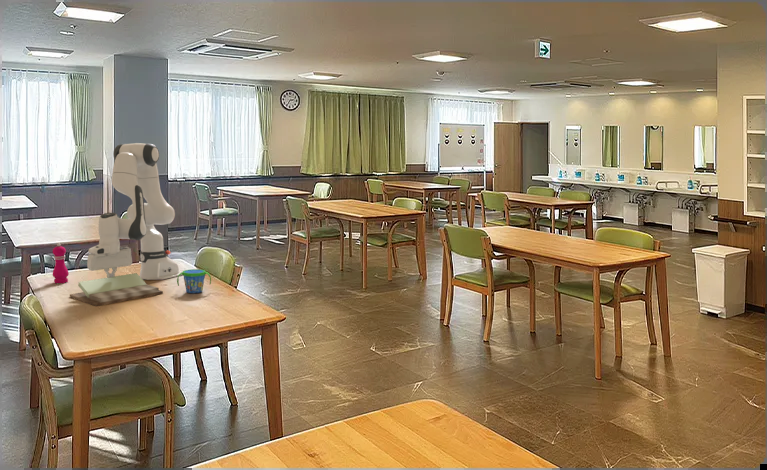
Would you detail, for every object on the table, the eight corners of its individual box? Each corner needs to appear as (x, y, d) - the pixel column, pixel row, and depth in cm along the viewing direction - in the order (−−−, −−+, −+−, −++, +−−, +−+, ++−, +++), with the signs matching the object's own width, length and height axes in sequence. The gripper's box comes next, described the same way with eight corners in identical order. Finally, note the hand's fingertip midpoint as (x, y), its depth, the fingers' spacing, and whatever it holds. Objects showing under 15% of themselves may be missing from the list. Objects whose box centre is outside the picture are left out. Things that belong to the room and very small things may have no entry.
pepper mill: (72, 281, 332) (69, 242, 329) (63, 284, 325) (61, 244, 322) (58, 280, 333) (56, 241, 330) (50, 283, 326) (47, 244, 323)
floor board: (135, 285, 323) (134, 279, 323) (162, 293, 307) (162, 287, 307) (69, 296, 299) (69, 290, 299) (96, 306, 283) (95, 298, 283)
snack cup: (212, 289, 317) (212, 268, 316) (210, 294, 307) (209, 273, 306) (179, 289, 315) (178, 269, 314) (175, 295, 305) (175, 273, 304)
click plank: (135, 276, 318) (136, 273, 317) (146, 287, 313) (146, 284, 312) (78, 285, 297) (78, 282, 296) (88, 297, 292) (88, 294, 291)
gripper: (127, 245, 313) (128, 273, 315) (84, 249, 297) (86, 279, 299) (134, 246, 309) (135, 275, 311) (91, 251, 293) (92, 281, 295)
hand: (110, 277), depth 305 cm, fingers closed
